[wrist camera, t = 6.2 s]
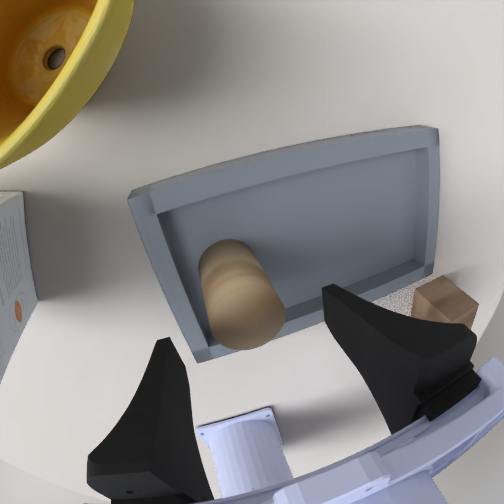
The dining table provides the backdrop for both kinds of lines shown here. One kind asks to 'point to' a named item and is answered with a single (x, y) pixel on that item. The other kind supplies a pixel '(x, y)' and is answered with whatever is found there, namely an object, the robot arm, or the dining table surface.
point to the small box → (13, 275)
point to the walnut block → (443, 303)
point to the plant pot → (57, 80)
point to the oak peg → (239, 296)
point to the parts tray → (299, 223)
